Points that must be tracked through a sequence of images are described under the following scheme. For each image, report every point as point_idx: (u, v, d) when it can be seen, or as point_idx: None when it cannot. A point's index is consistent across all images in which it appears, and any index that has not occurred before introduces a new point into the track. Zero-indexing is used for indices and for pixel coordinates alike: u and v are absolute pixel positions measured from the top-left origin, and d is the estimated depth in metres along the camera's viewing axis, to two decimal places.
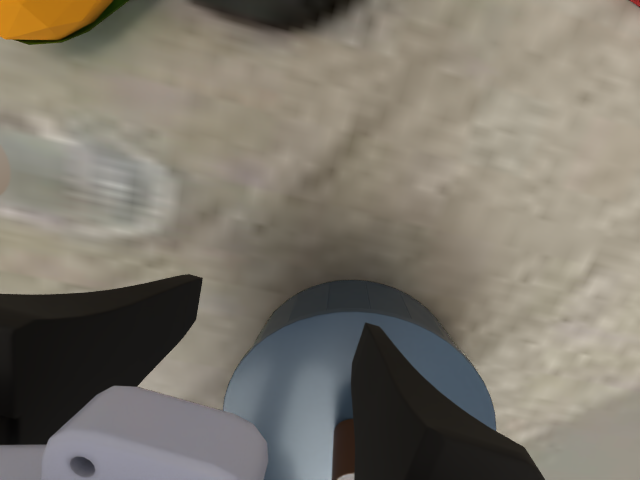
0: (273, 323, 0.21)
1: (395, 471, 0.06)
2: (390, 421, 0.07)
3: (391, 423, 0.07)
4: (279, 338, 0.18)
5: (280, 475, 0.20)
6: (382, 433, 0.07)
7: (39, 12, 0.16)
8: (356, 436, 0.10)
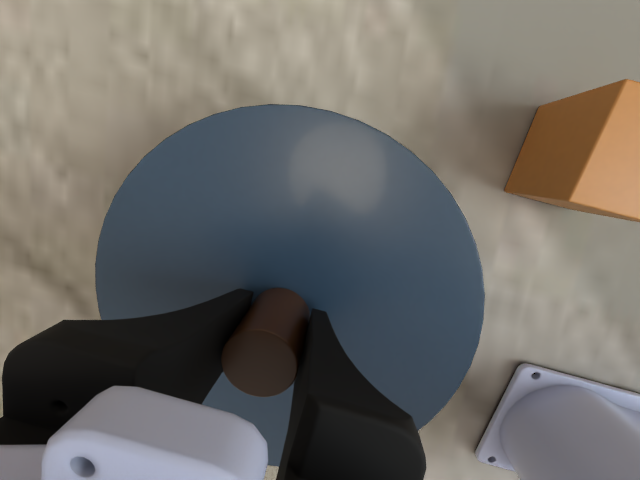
0: None
1: (291, 442, 0.06)
2: (301, 396, 0.07)
3: (300, 398, 0.07)
4: None
5: None
6: (296, 409, 0.08)
7: None
8: (290, 417, 0.10)
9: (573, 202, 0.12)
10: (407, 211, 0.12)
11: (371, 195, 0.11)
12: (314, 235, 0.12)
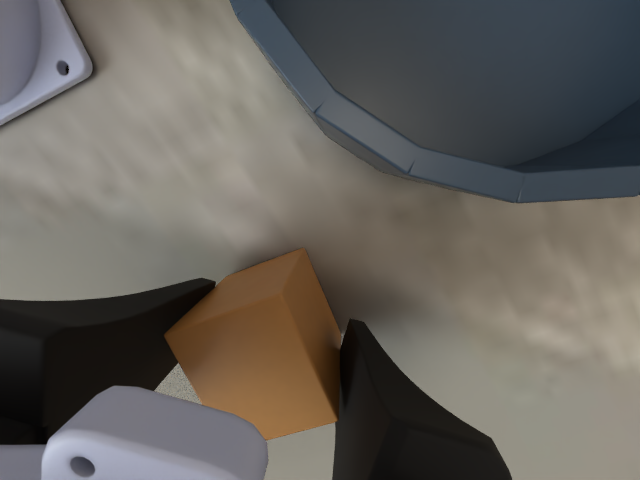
0: None
1: (365, 463, 0.06)
2: (364, 414, 0.07)
3: (364, 416, 0.07)
4: None
5: None
6: (357, 426, 0.08)
7: None
8: (337, 431, 0.10)
9: (272, 295, 0.08)
10: None
11: None
12: None
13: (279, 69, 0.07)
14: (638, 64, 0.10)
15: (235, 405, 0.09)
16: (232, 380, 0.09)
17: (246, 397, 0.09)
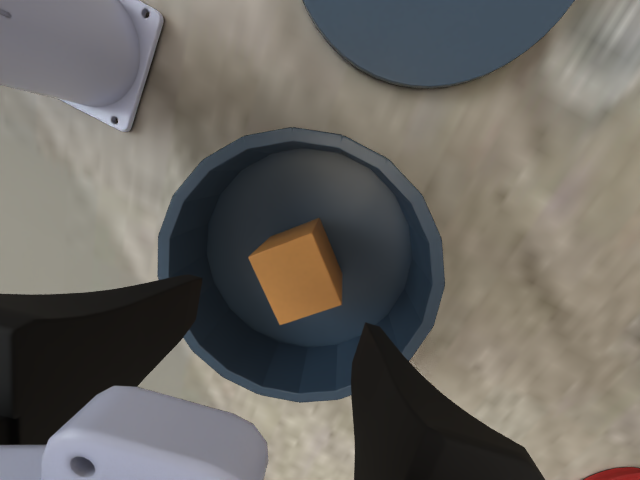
0: None
1: (395, 471, 0.06)
2: (390, 421, 0.07)
3: (391, 423, 0.07)
4: None
5: None
6: (382, 433, 0.07)
7: None
8: (356, 436, 0.10)
9: (307, 234, 0.16)
10: (344, 12, 0.17)
11: (368, 23, 0.17)
12: None
13: (158, 258, 0.17)
14: (313, 336, 0.23)
15: (285, 297, 0.17)
16: (284, 282, 0.17)
17: (291, 292, 0.17)
